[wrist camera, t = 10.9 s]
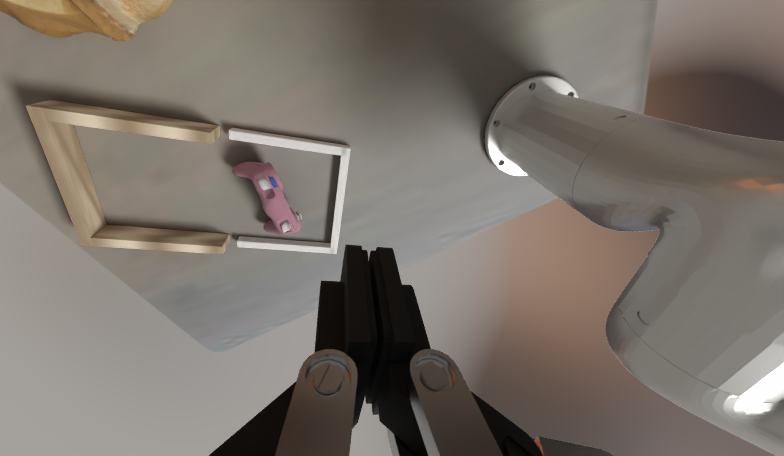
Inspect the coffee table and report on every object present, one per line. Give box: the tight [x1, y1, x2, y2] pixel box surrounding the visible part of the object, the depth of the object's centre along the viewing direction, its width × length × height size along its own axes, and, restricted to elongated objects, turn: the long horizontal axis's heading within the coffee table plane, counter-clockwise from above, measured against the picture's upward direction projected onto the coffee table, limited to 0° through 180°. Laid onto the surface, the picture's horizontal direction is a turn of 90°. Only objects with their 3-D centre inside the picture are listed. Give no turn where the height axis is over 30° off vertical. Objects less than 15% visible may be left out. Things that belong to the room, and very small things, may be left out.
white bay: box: [229, 128, 351, 254], centre depth 39 cm, size 14×16×1 cm
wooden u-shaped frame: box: [25, 100, 230, 254], centre depth 35 cm, size 15×16×3 cm
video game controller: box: [232, 162, 302, 235], centre depth 37 cm, size 10×5×7 cm, turn 12°
